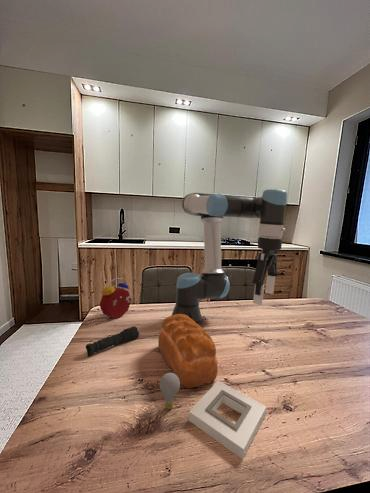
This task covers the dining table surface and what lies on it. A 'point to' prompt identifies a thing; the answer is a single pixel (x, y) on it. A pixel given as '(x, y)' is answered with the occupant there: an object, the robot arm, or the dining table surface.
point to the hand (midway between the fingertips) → (263, 298)
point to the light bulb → (169, 388)
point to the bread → (188, 351)
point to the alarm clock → (115, 300)
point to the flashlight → (112, 340)
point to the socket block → (223, 429)
